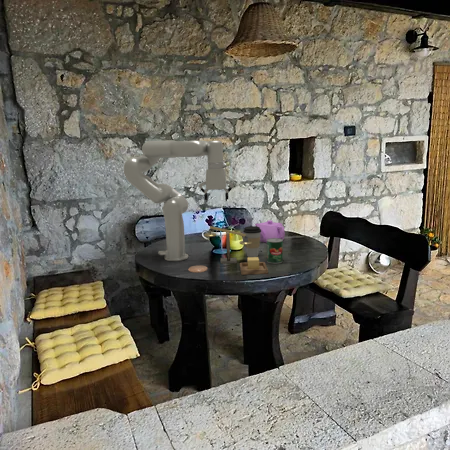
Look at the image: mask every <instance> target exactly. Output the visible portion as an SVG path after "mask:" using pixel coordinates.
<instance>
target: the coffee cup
mask: <svg viewBox="0 0 450 450" xmlns="http://www.w3.org/2000/svg"><path fill="white" fill-rule="evenodd" d="M260 232H261V229H260V227H257V226H255V225H249V226H245V227H244V229H243V231H242V233H243V234H246V237H248V241H251V242H252V243H251V244H248V245H245V248H246V257H247V258H248V257H259V251H260V245H261V244H260V243H261V242H260Z"/></svg>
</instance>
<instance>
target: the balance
mask: <svg viewBox="0 0 450 450" xmlns="http://www.w3.org/2000/svg"><path fill="white" fill-rule="evenodd" d="M209 230H215V231H218V232H219V231H220V232H223V233H225V234H226V235H225V236H226V237H225V238H226V243H225V244H226V257H220V264H221V265H225V264H237V263H238V259H237V257H231V246H230V245H231V244H230V243H231V241H230V239H231V237H230V234H234V235H237V236H242V240H241V241H239V245H243V246H246V245H248V244H251V243H252V242H251V241H248V237H246V234H244V232H238V231H234V230H229V229H226V228H225V229H224V228H220V227H217V226H211V225H209ZM203 236H204V237H206V238H212V237H216V236H217V233H215V232H211V231H209V232H207V233H204V235H203Z"/></svg>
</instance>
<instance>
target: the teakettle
mask: <svg viewBox="0 0 450 450" xmlns="http://www.w3.org/2000/svg"><path fill="white" fill-rule="evenodd" d="M254 226H257V227H260V229H261V232H260V243H265V244H267V239H270V238H280V239H283V241H284V239H285V237H286V234H285V226H283V223H282V222H274V221H273V220H272V219H268V220H266V221H264V222H259V223H254Z"/></svg>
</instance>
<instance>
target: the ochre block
mask: <svg viewBox="0 0 450 450" xmlns="http://www.w3.org/2000/svg"><path fill="white" fill-rule="evenodd" d="M259 262H260V259H259V256H257V257H248V256H247V261H246V263H248V270H250V269H259Z"/></svg>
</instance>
